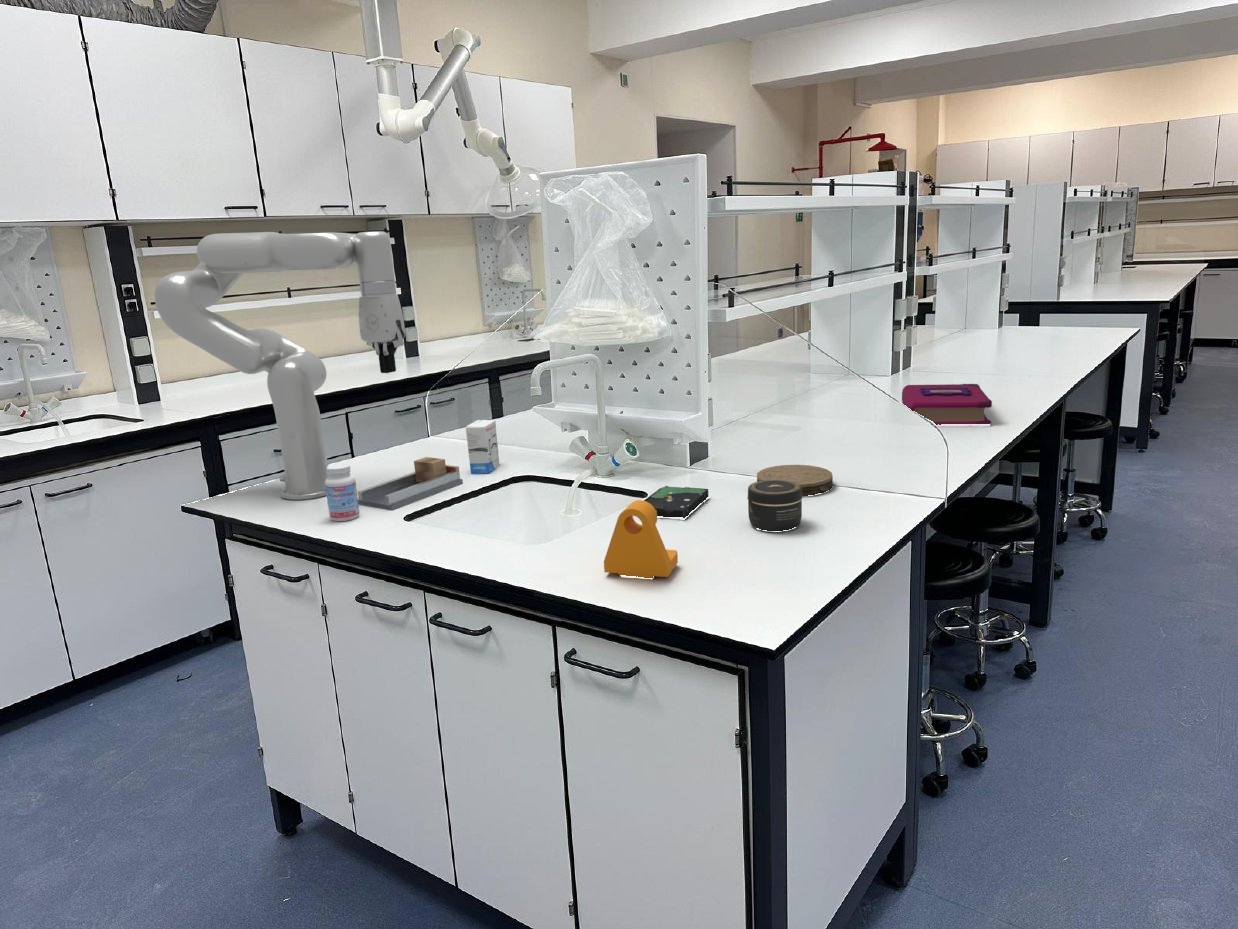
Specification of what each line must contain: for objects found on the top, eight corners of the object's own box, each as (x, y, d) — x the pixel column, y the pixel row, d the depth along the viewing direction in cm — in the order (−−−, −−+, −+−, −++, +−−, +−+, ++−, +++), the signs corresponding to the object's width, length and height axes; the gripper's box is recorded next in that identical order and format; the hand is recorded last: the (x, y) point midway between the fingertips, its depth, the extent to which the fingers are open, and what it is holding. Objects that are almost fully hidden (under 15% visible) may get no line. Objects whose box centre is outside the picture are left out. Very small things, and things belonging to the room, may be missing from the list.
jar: (738, 522, 165) (737, 483, 163) (784, 513, 168) (784, 476, 166) (765, 537, 156) (764, 497, 154) (812, 528, 159) (812, 488, 157)
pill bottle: (329, 523, 178) (321, 471, 175) (330, 515, 184) (323, 464, 181) (360, 519, 179) (352, 467, 177) (360, 511, 185) (353, 460, 182)
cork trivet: (764, 500, 178) (763, 487, 177) (751, 479, 193) (751, 467, 192) (841, 496, 178) (841, 482, 177) (822, 475, 193) (822, 462, 193)
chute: (357, 504, 191) (355, 486, 190) (428, 478, 208) (426, 462, 207) (392, 510, 185) (390, 492, 184) (462, 483, 202) (461, 466, 201)
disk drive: (685, 523, 168) (709, 500, 181) (685, 510, 167) (709, 487, 180) (636, 519, 172) (662, 496, 185) (635, 506, 171) (662, 484, 184)
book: (907, 428, 233) (908, 400, 231) (901, 407, 259) (902, 382, 257) (991, 428, 228) (993, 400, 226) (976, 407, 254) (977, 381, 252)
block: (416, 481, 201) (413, 461, 200) (428, 477, 205) (426, 456, 203) (435, 484, 198) (432, 463, 197) (447, 480, 202) (444, 459, 200)
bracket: (679, 565, 145) (676, 497, 142) (667, 581, 139) (664, 510, 136) (618, 561, 149) (614, 494, 146) (604, 576, 142) (600, 507, 139)
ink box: (488, 474, 209) (484, 426, 206) (469, 474, 210) (464, 426, 207) (500, 464, 218) (496, 419, 215) (481, 464, 219) (477, 419, 216)
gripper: (341, 291, 191) (353, 373, 196) (389, 290, 184) (399, 376, 188) (368, 288, 198) (378, 368, 202) (414, 287, 190) (424, 370, 194)
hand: (388, 372), depth 195 cm, fingers closed
